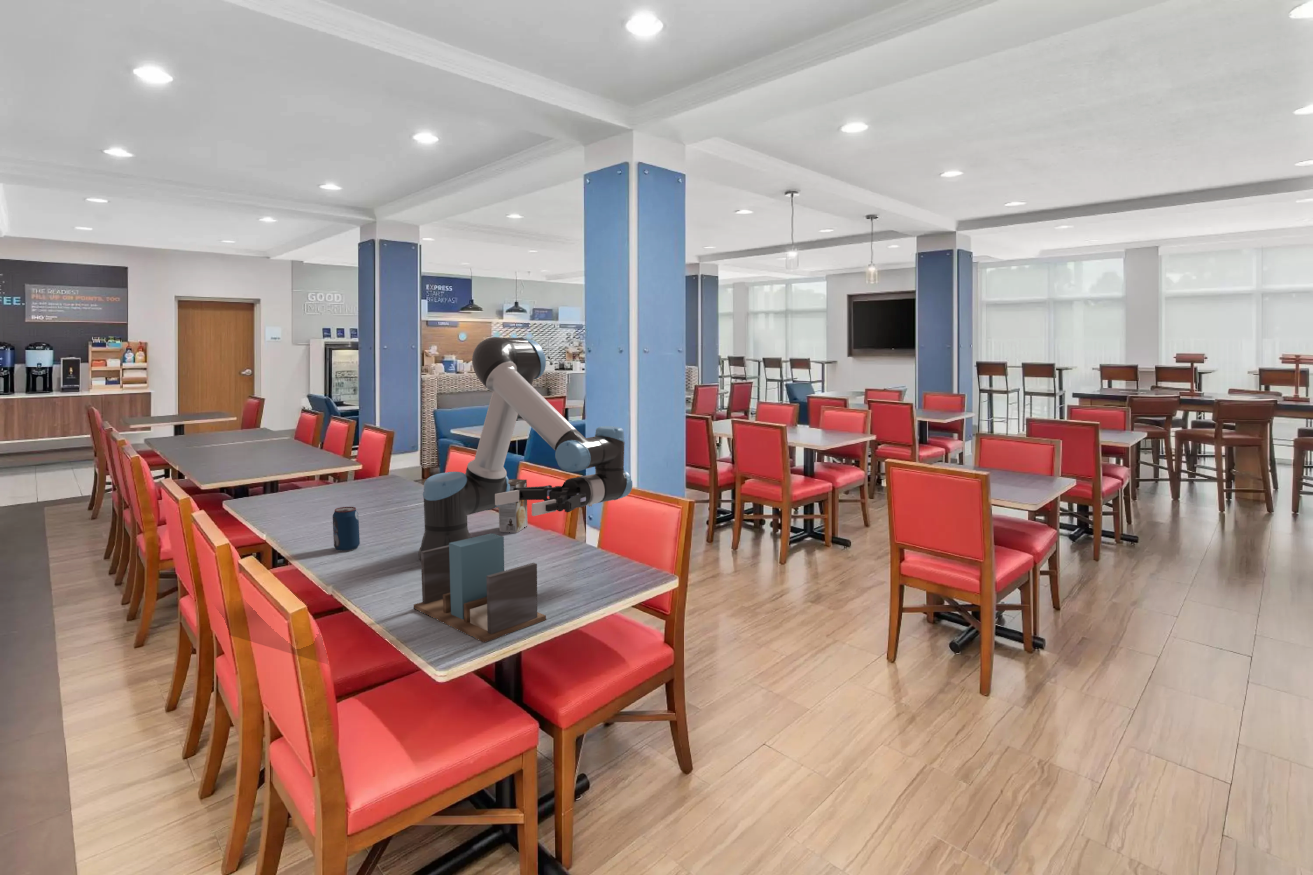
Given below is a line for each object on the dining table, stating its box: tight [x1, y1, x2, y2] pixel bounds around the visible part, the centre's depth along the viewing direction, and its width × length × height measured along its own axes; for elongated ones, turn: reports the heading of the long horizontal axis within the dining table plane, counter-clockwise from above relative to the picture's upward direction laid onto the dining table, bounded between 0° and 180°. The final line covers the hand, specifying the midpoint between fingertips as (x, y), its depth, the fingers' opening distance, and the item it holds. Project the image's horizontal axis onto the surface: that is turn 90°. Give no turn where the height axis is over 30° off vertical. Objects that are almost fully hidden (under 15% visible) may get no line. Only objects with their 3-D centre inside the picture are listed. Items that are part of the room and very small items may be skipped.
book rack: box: [413, 545, 547, 643], centre depth 151 cm, size 27×16×13 cm, turn 49°
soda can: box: [332, 506, 361, 552], centre depth 200 cm, size 7×7×12 cm
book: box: [449, 533, 505, 619], centre depth 151 cm, size 4×11×16 cm, turn 139°
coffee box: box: [498, 478, 529, 534], centre depth 224 cm, size 9×6×16 cm
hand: (513, 504), depth 156 cm, fingers open, 13 cm apart
